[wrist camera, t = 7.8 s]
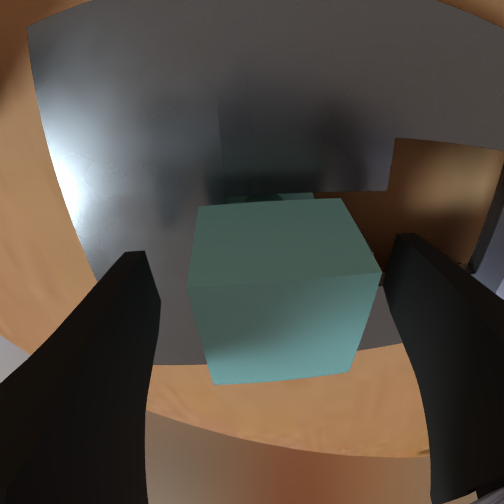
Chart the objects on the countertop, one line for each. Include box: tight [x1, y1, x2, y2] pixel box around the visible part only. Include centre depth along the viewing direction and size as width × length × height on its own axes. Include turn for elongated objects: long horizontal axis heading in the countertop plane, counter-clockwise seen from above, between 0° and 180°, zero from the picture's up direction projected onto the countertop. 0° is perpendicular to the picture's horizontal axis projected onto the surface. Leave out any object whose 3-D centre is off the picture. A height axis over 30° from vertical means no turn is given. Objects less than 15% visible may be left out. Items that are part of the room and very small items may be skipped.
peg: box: [186, 192, 382, 385], centre depth 11 cm, size 4×4×8 cm
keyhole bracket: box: [27, 0, 504, 365], centre depth 12 cm, size 20×16×4 cm
